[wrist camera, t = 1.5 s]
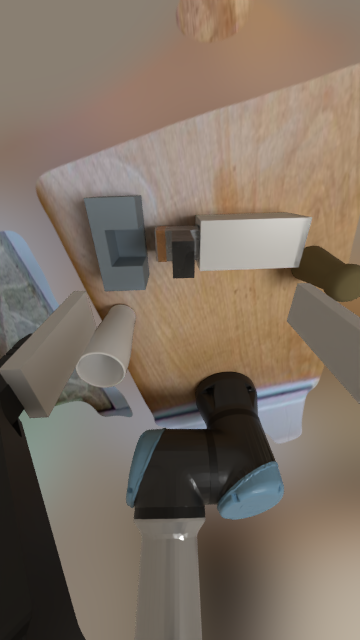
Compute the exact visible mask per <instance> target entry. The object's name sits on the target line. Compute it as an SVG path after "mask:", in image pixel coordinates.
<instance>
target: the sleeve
mask: <svg viewBox="0 0 360 640" xmlns="http://www.w3.org/2000/svg"><path fill="white" fill-rule="evenodd" d="M311 220H312V217H308V216H303V215H298V214H292V213H287V212H278V213H246V214H215V215H195V225H199V226H200V254H199V260H196V261H197V264H198V267H199V270H200V271H212V270H240V269H268V268H296V267H299V264H300V261H301V257H302V253H303V250H304V246H305V242H306V239H307V235H308V231H309V228H310V224H311Z"/></svg>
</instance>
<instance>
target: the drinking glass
mask: <svg viewBox="0 0 360 640" xmlns="http://www.w3.org/2000/svg"><path fill="white" fill-rule="evenodd" d="M135 322H136V314H135V312H134V311H133V309H132V308H130V307H129V306H127V305H122V304H119V305H115V306H113V307H112V308H111V309H110V310H109V312H108V313H107V315H106V317H105V318H104V319H103V321H102V322H101V323H100V325H99V326H98V328H97V329H96V330H95V332H94V334H93V336H92V338H91V339H90V341H89V343H88V345H87V347H86V349H85V350H84V352H83V354H82V356H81V358H80V360H79V362H78V363H77V365H76V372H77V374H78V375H79V377H80V378H81V379H82V380H83V381H85V382H86V383H88V384H90V385H93V386H96V387H112V386H115V385H117V384H119V383H120V382H122V381H123V379H124V378H125V375H126V372H127V369H128V365H129V361H130V357H131V351H132V342H133V334H134V326H135Z"/></svg>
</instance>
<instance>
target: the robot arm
mask: <svg viewBox="0 0 360 640" xmlns="http://www.w3.org/2000/svg"><path fill="white" fill-rule="evenodd" d="M287 322H288V323H289V324H290V325H291V326H292V327H293V329H294V330H295V331H296V332H297V333H298V334H299V336H300V337H301V338H302V339H303V340H304V341H305V342H306V344H307V345H308V346H309V347H310V348H311V349H312V350H313V352H314V353H315V354H316V355H317V356H318V357H319V359H320V360H321V361H322V362H323V363H324V364H325V365H326V367H327V368H328V369H329V370H330V371H331V372H332V373H333V374H334V376H335V377H336V378H337V379H338V380H339V382H340V383H341V384H342V385H343V386H344V387H345V388H346V390H347V391H348V392H349V393H350V394H351V395H352V396H353V398H354V399H355V400H356V401H357V402H358V403H360V317H358V316H357V315H356V314H354V313H352V312H351V311H350V310H348V309H347V308H345V307H344V306H342V305H341V304H339V303H338V302H337V301H335V300H334V299H332V298H331V297H329V296H328V295H326V294H325V293H323V292H322V291H320V290H319V289H318V288H316V287H315V286H313V285H312V284H310V283H299V284H297V287H296V291H295V294H294V298H293V301H292V305H291V308H290V312H289V315H288V319H287ZM95 330H96V324H95V321H94V318H93V314H92V310H91V306H90V303H89V300H88V296H87V292H86V291H74V292H73V293H72V294H71V295H70V296H69V297H68V298H67V299H66V300H65V301H64V302H63V303H62V304H61V305H60V306H59V307H58V308H57V309H56V310H55V311H54V312H53V313H52V315H51V316H50V317H49V318H48V319H47V320H46V321H45V322H44V323H43V324H42V325H41V326H40V327H39V328H38V329H37V330H36V331H35V332H34V333H33V334H29V335H27V336H26V337H24V338H22V339H21V340H19V341H18V342H17V343H16V344H15V345H14V346H13V347H12V349H10V350H9V351H8V352H7V353H6V355H4V356H3V357H2V358H1V359H0V640H86V639H85V638H84V636H83V634H82V632H81V630H80V628H79V625H78V623H77V619H76V616H75V612H74V609H73V605H72V602H71V598H70V594H69V591H68V587H67V584H66V580H65V576H64V573H63V570H62V566H61V562H60V558H59V555H58V551H57V548H56V544H55V540H54V537H53V533H52V530H51V526H50V523H49V519H48V515H47V512H46V508H45V505H44V501H43V498H42V494H41V490H40V487H39V483H38V479H37V476H36V472H35V469H34V465H33V462H32V458H31V454H30V451H29V447H28V444H27V440H26V437H25V433H24V429H23V426H22V422H21V421H20V420H19V418H18V417H19V416H20V414H21V413H22V411H23V410H25V411H26V413H27V414H28V416H29V417H30V418H40V417H49V415H50V413H51V411H52V410H53V408H54V406H55V404H56V402H57V400H58V398H59V397H60V395H61V393H62V391H63V389H64V387H65V386H66V384H67V382H68V380H69V378H70V376H71V374H72V373H73V371H74V369H75V367H76V365H77V363H78V362H79V360H80V358H81V356H82V354H83V352H84V350H85V349H86V347H87V345H88V343H89V341H90V339H91V338H92V336H93V334H94V332H95ZM195 398H196V405H197V408H198V410H199V412H200V414H201V416H202V418H203V420H204V422H205V423H206V426H207V429H166V428H163V429H156V430H147V431H145V432H144V433H143V434H142V435H141V436H140V438H139V440H138V443H137V446H136V449H135V452H134V456H133V460H132V464H131V469H130V474H129V479H128V489H127V494H126V503H127V505H128V506H130V507H131V508H133V507H134V506H135V513H134V523H135V525H136V526H137V528H138V529H139V531H140V532H141V536H142V543H141V557H140V572H139V585H138V599H137V612H136V626H135V640H202V630H201V610H200V590H199V570H198V549H197V534H198V531H199V529H200V528H201V526H202V524H203V523H204V521H205V508H204V507H205V505H207V504H217V509H218V511H219V513H220V515H221V516H222V517H223V518H226V519H227V518H229V519H242V518H247V517H251V516H254V515H257V514H260V513H262V512H264V511H266V510H268V509H270V508H272V507H273V506H274V505H276V504H277V503H278V502H279V501H280V500H281V498H282V496H283V493H284V485H283V482H282V479H281V476H280V472H279V469H278V464H277V462H276V461H275V458H274V456H273V453H272V451H271V448H270V446H269V443H268V440H267V438H266V435H265V433H264V430H263V428H262V425H261V423H260V420H259V417H258V407H257V392H256V389H255V387H254V384H253V382H252V381H251V380H250V379H249V378H248V377H247V376H245V375H243V374H240V373H235V372H223V373H218V374H215V375H212V376H210V377H208V378H206V379H205V380H204V381H202V382H201V383H200V384H199V386H198V387H197V389H196V392H195Z"/></svg>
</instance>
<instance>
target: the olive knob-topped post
mask: <svg viewBox="0 0 360 640" xmlns="http://www.w3.org/2000/svg"><path fill="white" fill-rule="evenodd" d="M291 271H292V274H293V275H294V276H295V278H298V279H300V280H302V281H305V282H307V283H310V284H312V285H314V286H317V287H319V288H322V289H324V292H325V293H326V294H327V295H328V296H329V297H331V298H332V299H334V300H335V301H339V302H347V301H352V300H354V299H357V298H358V297H360V266H359V265H356V264H345V263H343V262H342V261H340V260H339V259H337V258H336V257H335V256H333V255H332V254H330V253H329V252H327V251H326V250H324V249H323V248H321V247H319V246H310V247H307V248H305V249H304V250H303V253H302V257H301V261H300V264H299V267H296V268H291Z"/></svg>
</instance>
